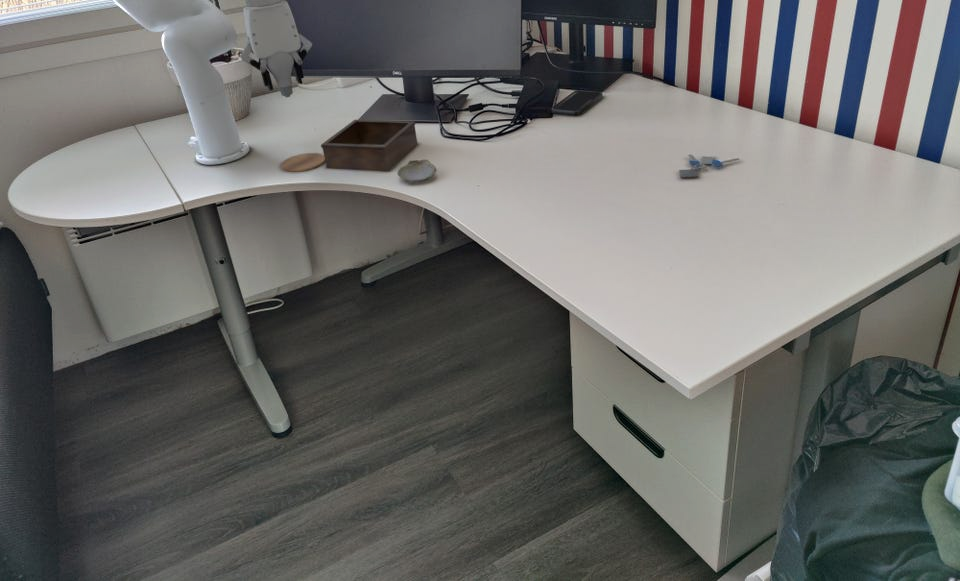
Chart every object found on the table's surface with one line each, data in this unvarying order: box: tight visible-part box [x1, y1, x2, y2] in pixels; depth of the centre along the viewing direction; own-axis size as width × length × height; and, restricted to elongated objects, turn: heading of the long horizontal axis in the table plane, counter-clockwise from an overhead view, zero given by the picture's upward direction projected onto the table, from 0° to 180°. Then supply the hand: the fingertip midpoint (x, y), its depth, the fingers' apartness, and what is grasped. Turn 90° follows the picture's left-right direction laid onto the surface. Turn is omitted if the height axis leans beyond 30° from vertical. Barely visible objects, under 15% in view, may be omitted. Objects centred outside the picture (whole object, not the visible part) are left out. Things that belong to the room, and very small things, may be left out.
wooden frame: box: [320, 119, 418, 172], centre depth 168 cm, size 16×16×6 cm
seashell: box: [397, 159, 437, 183], centre depth 156 cm, size 8×3×8 cm
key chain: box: [678, 154, 740, 178], centre depth 147 cm, size 14×8×1 cm, turn 121°
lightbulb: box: [266, 52, 294, 98], centre depth 159 cm, size 6×6×11 cm
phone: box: [551, 89, 603, 117], centre depth 185 cm, size 8×1×15 cm
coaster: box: [280, 152, 326, 173], centre depth 170 cm, size 10×10×1 cm
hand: (284, 84), depth 160 cm, fingers closed on lightbulb, 5 cm apart
